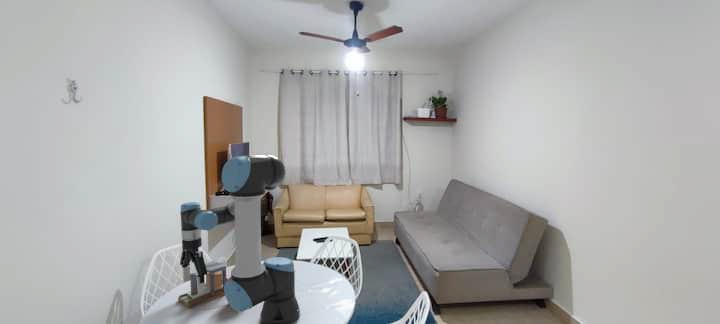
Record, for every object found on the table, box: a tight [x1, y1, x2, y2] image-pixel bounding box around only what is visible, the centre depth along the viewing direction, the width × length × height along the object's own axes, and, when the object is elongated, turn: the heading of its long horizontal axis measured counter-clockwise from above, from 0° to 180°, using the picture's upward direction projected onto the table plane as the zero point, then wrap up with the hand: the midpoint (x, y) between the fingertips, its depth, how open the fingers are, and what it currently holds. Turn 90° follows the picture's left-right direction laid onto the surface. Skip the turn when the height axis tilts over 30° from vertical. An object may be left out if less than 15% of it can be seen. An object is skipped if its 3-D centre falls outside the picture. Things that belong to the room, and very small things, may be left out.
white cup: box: [209, 256, 228, 280], centre depth 160 cm, size 8×8×10 cm
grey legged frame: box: [177, 261, 229, 309], centre depth 144 cm, size 11×22×13 cm, turn 142°
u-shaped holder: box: [187, 272, 223, 299], centre depth 143 cm, size 6×14×10 cm, turn 142°
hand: (193, 285), depth 139 cm, fingers open, 13 cm apart
